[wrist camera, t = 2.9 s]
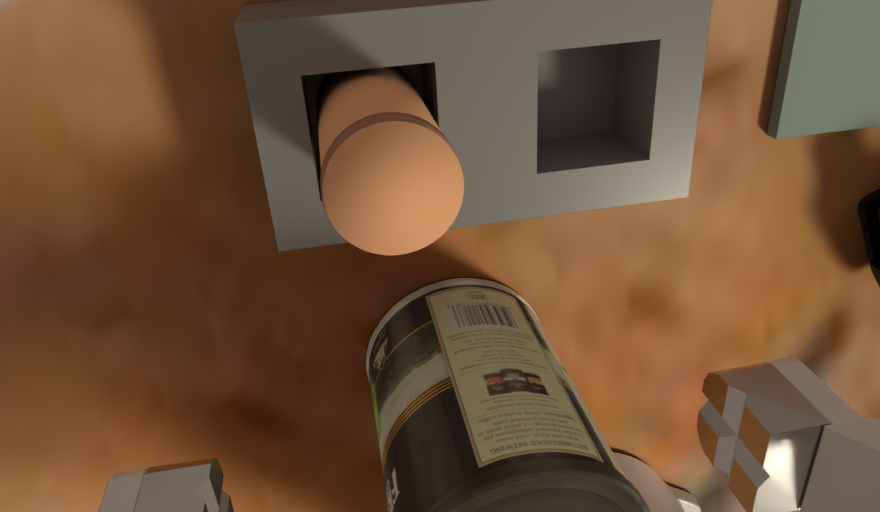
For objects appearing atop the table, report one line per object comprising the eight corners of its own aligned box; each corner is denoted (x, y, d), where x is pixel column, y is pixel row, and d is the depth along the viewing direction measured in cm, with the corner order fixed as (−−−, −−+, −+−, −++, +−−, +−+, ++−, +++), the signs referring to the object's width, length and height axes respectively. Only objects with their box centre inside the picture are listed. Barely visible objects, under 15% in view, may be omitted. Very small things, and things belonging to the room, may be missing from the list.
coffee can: (401, 448, 40) (444, 686, 28) (337, 316, 35) (355, 537, 23) (561, 388, 41) (672, 600, 28) (519, 248, 35) (634, 432, 23)
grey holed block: (639, 159, 34) (687, 196, 30) (281, 203, 32) (278, 251, 28) (655, -32, 30) (715, -20, 26) (244, 4, 28) (233, 23, 23)
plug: (421, 149, 31) (468, 246, 22) (323, 161, 30) (332, 265, 22) (413, 49, 29) (462, 113, 20) (307, 59, 28) (310, 130, 19)
